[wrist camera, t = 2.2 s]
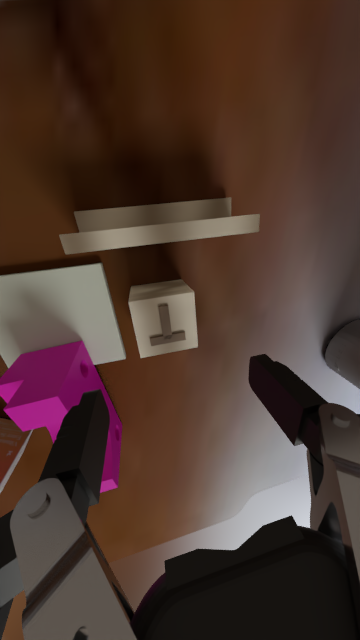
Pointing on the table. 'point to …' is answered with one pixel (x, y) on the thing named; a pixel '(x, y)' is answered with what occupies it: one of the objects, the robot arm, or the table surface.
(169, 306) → the birch cube
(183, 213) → the screen
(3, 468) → the small box
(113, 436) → the toy block
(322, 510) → the robot arm
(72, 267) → the pad
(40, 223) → the table surface
